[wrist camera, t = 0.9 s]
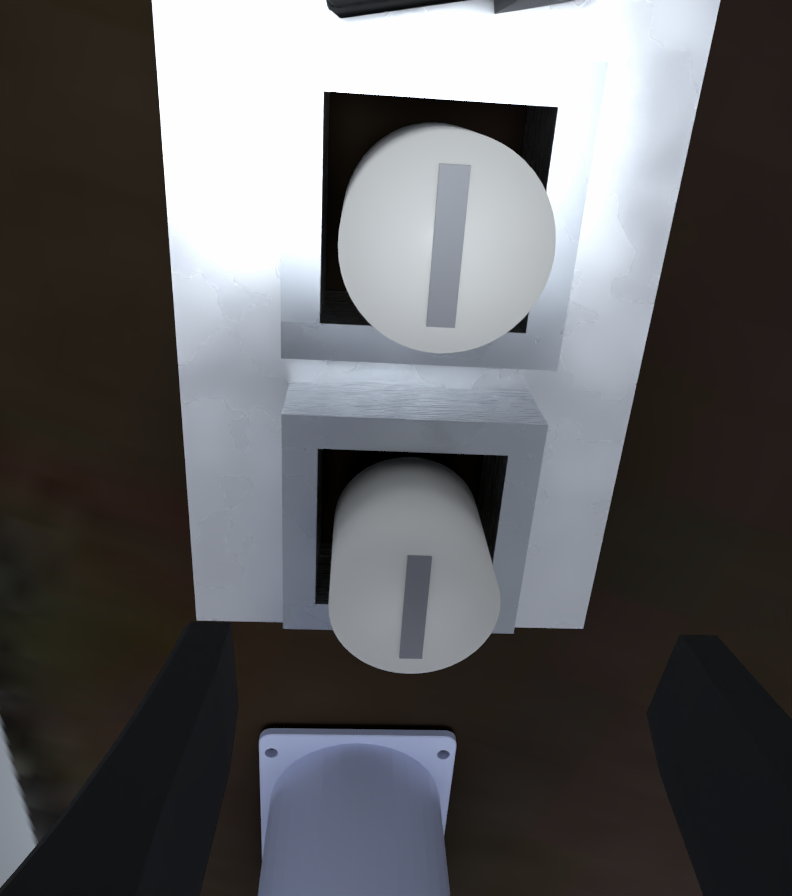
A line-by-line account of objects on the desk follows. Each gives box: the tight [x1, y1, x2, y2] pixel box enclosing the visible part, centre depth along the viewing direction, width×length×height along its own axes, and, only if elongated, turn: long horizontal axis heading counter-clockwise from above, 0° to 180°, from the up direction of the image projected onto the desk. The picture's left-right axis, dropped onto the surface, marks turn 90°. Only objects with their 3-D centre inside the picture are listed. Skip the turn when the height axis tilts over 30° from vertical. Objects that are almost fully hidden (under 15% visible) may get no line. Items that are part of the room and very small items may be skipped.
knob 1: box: [338, 122, 556, 353], centre depth 17 cm, size 4×4×4 cm
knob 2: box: [328, 457, 501, 674], centre depth 20 cm, size 4×4×4 cm
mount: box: [152, 0, 720, 634], centre depth 21 cm, size 20×14×4 cm
